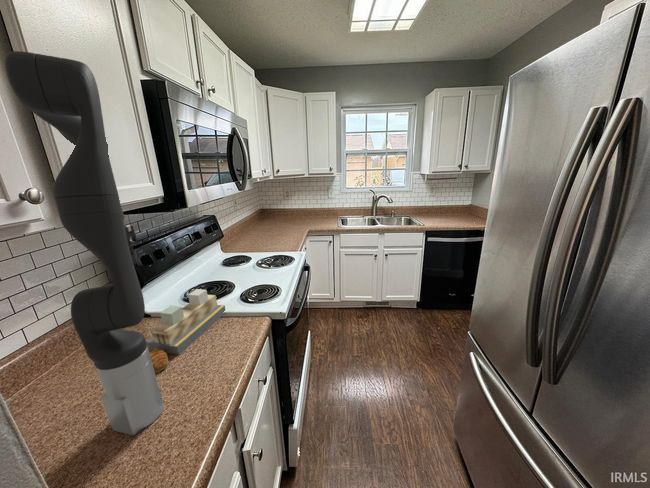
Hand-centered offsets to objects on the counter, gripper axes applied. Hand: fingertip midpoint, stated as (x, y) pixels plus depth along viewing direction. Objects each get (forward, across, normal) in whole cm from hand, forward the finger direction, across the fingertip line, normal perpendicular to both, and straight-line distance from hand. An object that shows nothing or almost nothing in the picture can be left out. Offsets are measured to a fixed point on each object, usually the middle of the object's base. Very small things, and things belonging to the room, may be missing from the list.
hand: (119, 257), depth 81 cm
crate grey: (+22, +13, +14) cm, 30 cm away
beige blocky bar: (+27, +13, +8) cm, 31 cm away
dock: (+30, +13, +8) cm, 34 cm away
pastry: (+31, +15, -9) cm, 35 cm away
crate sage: (+22, +13, +2) cm, 26 cm away
